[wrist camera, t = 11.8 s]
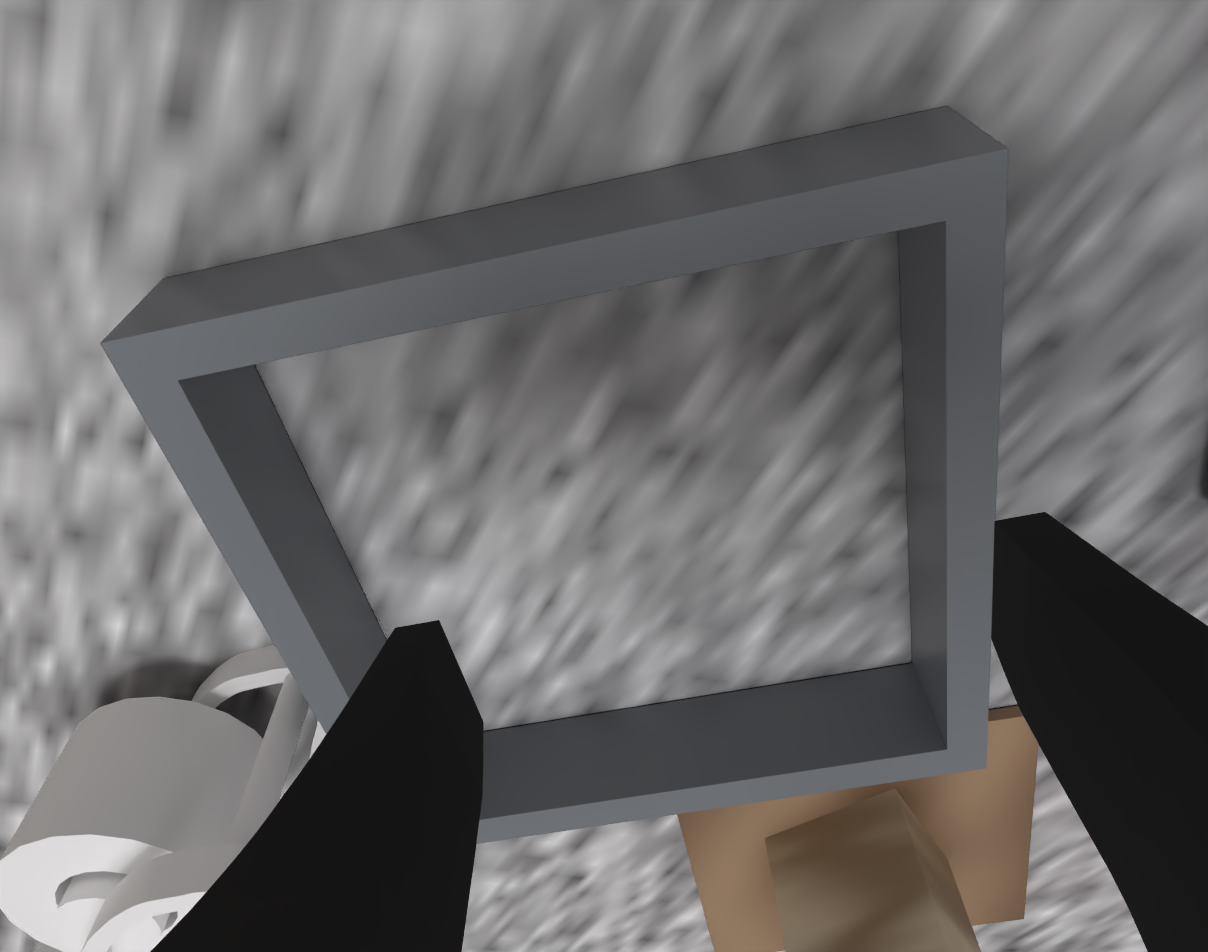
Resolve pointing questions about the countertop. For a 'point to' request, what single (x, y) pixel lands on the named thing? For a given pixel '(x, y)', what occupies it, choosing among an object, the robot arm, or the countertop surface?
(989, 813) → the pad
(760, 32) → the countertop surface
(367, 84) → the countertop surface
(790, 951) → the label box
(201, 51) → the countertop surface
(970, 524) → the bin
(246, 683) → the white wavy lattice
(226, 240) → the countertop surface
